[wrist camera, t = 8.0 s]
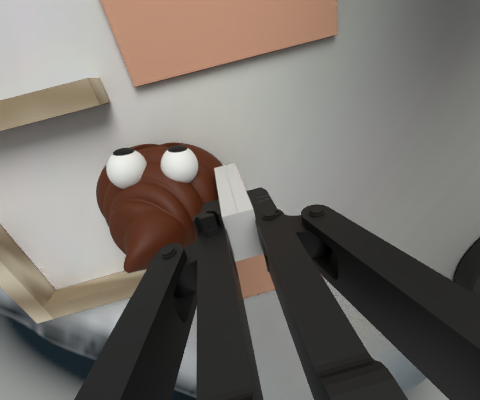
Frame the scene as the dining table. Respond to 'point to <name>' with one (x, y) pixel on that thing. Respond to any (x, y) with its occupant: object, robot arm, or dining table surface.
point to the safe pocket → (9, 253)
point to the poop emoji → (155, 197)
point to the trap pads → (214, 50)
